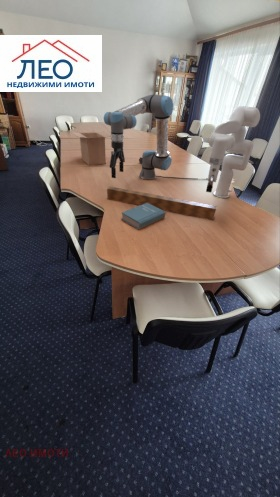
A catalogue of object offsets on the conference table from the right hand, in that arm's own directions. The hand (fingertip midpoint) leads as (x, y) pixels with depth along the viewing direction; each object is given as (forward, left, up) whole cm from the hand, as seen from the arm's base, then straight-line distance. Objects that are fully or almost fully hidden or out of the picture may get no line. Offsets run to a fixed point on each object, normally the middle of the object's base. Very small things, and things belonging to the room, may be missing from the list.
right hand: (209, 188), depth 138 cm
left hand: (+41, -46, -1) cm, 62 cm away
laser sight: (-29, -116, -19) cm, 121 cm away
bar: (+21, -23, -19) cm, 36 cm away
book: (+39, -12, -19) cm, 45 cm away
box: (+24, -144, -19) cm, 147 cm away
